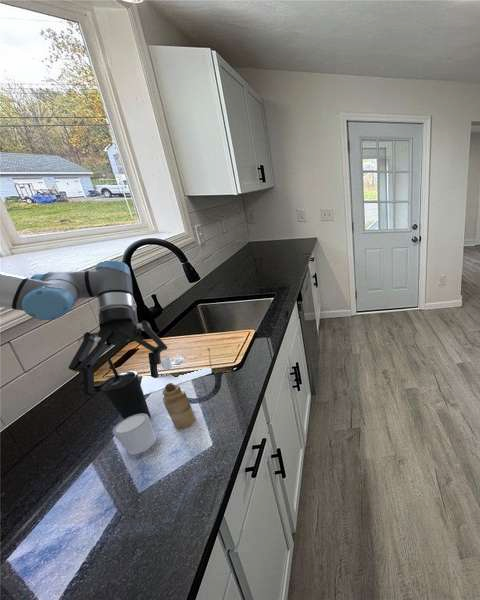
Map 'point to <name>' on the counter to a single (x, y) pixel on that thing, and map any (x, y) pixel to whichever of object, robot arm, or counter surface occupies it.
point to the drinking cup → (125, 392)
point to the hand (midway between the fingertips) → (123, 385)
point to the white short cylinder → (135, 433)
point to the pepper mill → (178, 406)
